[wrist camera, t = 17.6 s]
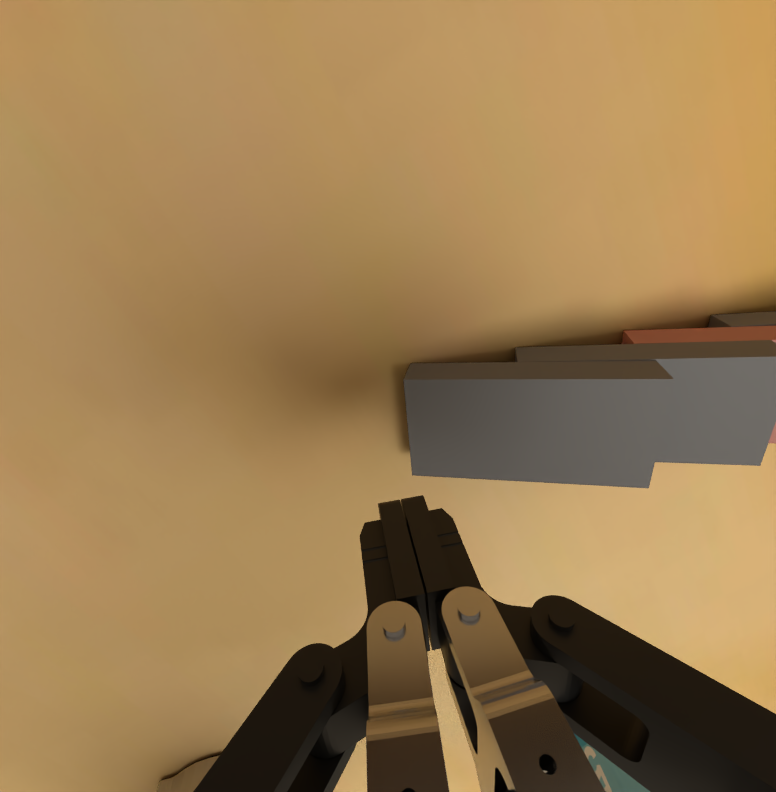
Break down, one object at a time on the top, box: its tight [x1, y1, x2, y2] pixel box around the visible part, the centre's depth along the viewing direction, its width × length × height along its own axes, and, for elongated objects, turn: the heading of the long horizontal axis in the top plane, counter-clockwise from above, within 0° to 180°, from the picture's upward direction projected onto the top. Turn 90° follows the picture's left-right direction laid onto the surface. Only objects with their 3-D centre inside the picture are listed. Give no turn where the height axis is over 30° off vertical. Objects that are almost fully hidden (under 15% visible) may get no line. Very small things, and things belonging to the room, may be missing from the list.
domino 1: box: [404, 360, 674, 488], centre depth 18 cm, size 2×5×10 cm
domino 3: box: [622, 326, 776, 443], centre depth 18 cm, size 2×5×10 cm
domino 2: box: [515, 340, 776, 466], centre depth 18 cm, size 2×5×10 cm
